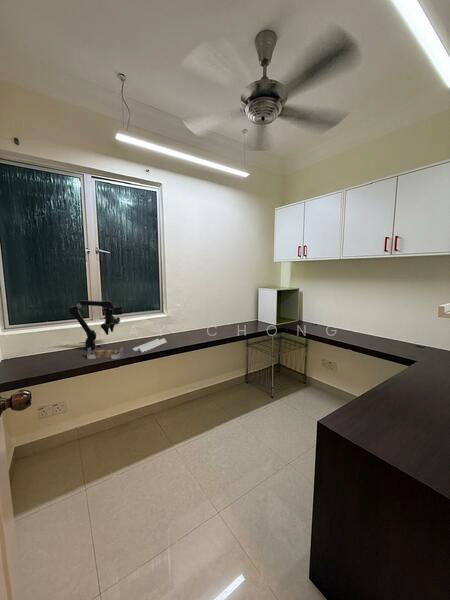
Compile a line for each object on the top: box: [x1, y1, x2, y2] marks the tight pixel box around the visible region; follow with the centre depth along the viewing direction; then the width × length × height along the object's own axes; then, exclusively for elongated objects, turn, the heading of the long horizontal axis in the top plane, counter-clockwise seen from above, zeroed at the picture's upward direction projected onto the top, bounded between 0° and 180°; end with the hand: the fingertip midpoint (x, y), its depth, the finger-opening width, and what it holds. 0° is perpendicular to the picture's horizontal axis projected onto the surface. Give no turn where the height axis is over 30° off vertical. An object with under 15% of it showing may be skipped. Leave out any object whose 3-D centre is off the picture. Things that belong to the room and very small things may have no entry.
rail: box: [91, 349, 119, 359], centre depth 189 cm, size 18×4×5 cm, turn 88°
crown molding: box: [131, 338, 168, 353], centre depth 215 cm, size 31×12×4 cm, turn 155°
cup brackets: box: [87, 346, 124, 360], centre depth 189 cm, size 25×8×7 cm, turn 92°
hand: (109, 333), depth 210 cm, fingers open, 9 cm apart
